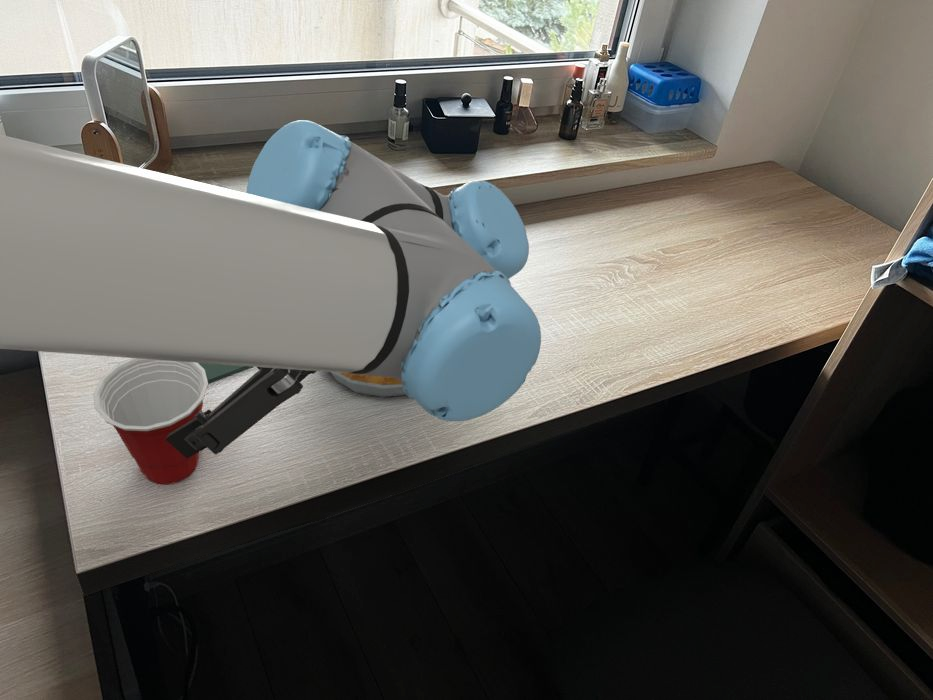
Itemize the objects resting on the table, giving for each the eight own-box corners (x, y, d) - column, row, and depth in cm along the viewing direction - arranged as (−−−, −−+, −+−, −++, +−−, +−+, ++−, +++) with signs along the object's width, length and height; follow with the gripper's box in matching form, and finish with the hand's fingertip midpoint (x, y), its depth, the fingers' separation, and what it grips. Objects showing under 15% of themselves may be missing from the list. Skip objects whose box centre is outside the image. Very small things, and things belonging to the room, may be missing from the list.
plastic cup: (95, 494, 76) (67, 411, 69) (148, 424, 84) (128, 343, 77) (193, 514, 75) (176, 432, 68) (237, 441, 84) (225, 362, 76)
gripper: (329, 443, 51) (172, 519, 63) (435, 270, 70) (299, 352, 82) (255, 368, 49) (105, 462, 60) (385, 209, 68) (253, 303, 80)
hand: (217, 399), depth 71 cm, fingers open, 13 cm apart
